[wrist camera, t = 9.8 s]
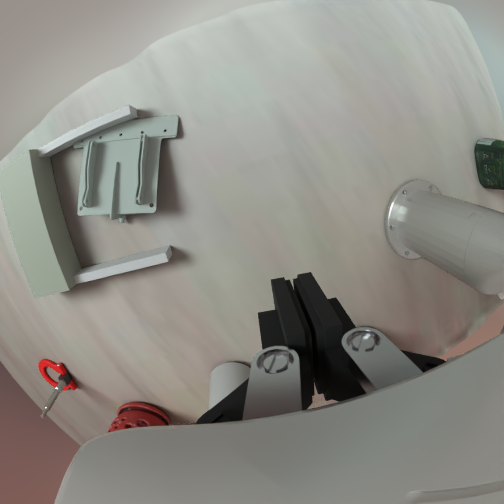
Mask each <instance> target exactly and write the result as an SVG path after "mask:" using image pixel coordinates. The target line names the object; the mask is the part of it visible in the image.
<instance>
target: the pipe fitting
mask: <svg viewBox="0 0 504 504" xmlns="http://www.w3.org/2000/svg"><path fill="white" fill-rule="evenodd" d="M497 295H498V296H499V298H500V299H501V300H503V299H504V292H502V293H499V294H497Z"/></svg>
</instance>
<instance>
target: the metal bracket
mask: <svg viewBox="0 0 504 504" xmlns="http://www.w3.org/2000/svg"><path fill="white" fill-rule="evenodd" d="M178 121H179V117H178V115H171V116H156V117H152V118H144V119H135V120H128V121H126V122H123V123H120V124H117V125H115V126H112V127H110V128H107V129H105V130H102V131H100V132H97V133H95V134H93V135H90V136H88V137H86V138H83V139H81V140H79V141H77V142H75V143H73V147H74V148H75V149H76V148H82V147H84V153H83V159H82V167H81V175H80V185H79V196H78V212H77V213H78V215H79V216H86V215H107V214H109V215H110V220H113V219H118V218H119V220H120V222H119V223H125V222H124V220H125V217H124V215H130V214H132V215H135V214H136V213H155V212H156V207H157V186H158V170H159V157H160V147H161V140H162V139H164V138H175V137H176V136H177V131H178ZM164 130H167V131H166V132H164ZM141 132H144V133H143V134H141ZM120 134H122V136H120ZM100 137H102V138H101V139H100ZM82 140H83V141H82ZM151 203H153V204H154V206H153V207H150V204H151ZM81 207H83V210H80V208H81Z"/></svg>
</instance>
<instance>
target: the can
mask: <svg viewBox="0 0 504 504" xmlns="http://www.w3.org/2000/svg"><path fill="white" fill-rule="evenodd" d="M250 369H251V368H249V367H248V366H246V365H244V364H241V363H234V362H231V363H224V364H221V365H219V366H217V367H216V368H215V369H214V370H213V371H212V372H211V376H210V394H209V410H210V409H211V408H212V407H214V406H215V405H216V404H217V403H219V402H220V401H221V400H223V399H224V398H225V397H226V396H227V395H229V394H230V393H231V392H232V391H234V390H235V389H236V388H237V387H238V386H240V385H241V384H242V383H243V382H244V381H246V380H247V379H248V378H249V375H250Z"/></svg>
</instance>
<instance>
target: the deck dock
mask: <svg viewBox="0 0 504 504" xmlns="http://www.w3.org/2000/svg"><path fill="white" fill-rule="evenodd" d="M135 118H138V114H137V109H136V108H134V107H132V106H130V105H127V106H125V107H122V108H120V109H117V110H115V111H112V112H110V113H108V114H105V115H103V116H101V117H98V118H96V119H94V120H92V121H90V122H88V123H85V124H83V125H81V126H79V127H77V128H75V129H73V130H71V131H69V132H67V133H66V134H64V135H62V136H60V137H58V138H56V139H54V140H53V141H51V142H49V143H47V144H46V145H44V146H42V147H41V148H39V149H37V150H28V151H26V152H25V153H23V154H22V155H20V156H19V157H17V158H16V159H14V160H13V161H12V162H10V163H9V164H7V165H6V166H5V167H3V168H2V169H1V170H0V193H1V198H2V202H3V206H4V211H5V215H6V219H7V222H8V226H9V229H10V233H11V236H12V239H13V243H14V246H15V249H16V252H17V255H18V257H19V260H20V263H21V266H22V268H23V271H24V273H25V276H26V278H27V281H28V283H29V286H30V288H31V290H32V293H33V295H34V297H35V298H40V297H44V296H48V295H52V294H56V293H60V292H65V291H69V290H70V289H71V288H72V287H74V286H75V285H76V284H79V283H83V282H87V281H91V280H95V279H99V278H103V277H107V276H111V275H115V274H119V273H124V272H128V271H132V270H136V269H140V268H144V267H148V266H153V265H157V264H161V263H165V262H168V261H169V260H170V258H171V256H172V254H173V253H172V250H171V247H170V246H166V247H162V248H158V249H154V250H150V251H146V252H142V253H139V254H135V255H131V256H127V257H123V258H119V259H116V260H112V261H108V262H105V263H101V264H97V265H94V266H90V267H86V268H83V269H82V268H81V265H80V263H79V260H78V257H77V255H76V252H75V249H74V246H73V243H72V240H71V237H70V234H69V231H68V228H67V224H66V221H65V218H64V214H63V211H62V207H61V203H60V199H59V195H58V191H57V187H56V183H55V178H54V174H53V169H52V164H51V158H50V157H51V156H52V155H54V154H56V153H58V152H60V151H62V150H64V149H66V148H68V147H70V146H72V145H73V143H75V142H77V141H79V140H81V139H83V138H86V137H88V136H90V135H93V134H95V133H97V132H100V131H102V130H105V129H107V128H110V127H112V126H115V125H117V124H120V123H123V122H126V121H128V120H132V119H135Z"/></svg>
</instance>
